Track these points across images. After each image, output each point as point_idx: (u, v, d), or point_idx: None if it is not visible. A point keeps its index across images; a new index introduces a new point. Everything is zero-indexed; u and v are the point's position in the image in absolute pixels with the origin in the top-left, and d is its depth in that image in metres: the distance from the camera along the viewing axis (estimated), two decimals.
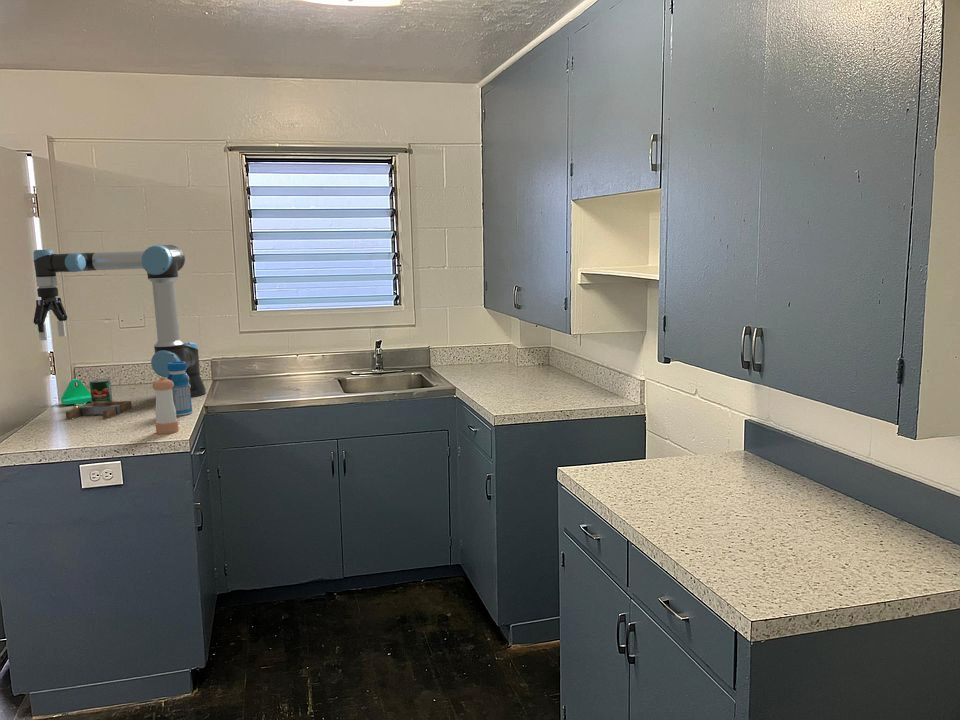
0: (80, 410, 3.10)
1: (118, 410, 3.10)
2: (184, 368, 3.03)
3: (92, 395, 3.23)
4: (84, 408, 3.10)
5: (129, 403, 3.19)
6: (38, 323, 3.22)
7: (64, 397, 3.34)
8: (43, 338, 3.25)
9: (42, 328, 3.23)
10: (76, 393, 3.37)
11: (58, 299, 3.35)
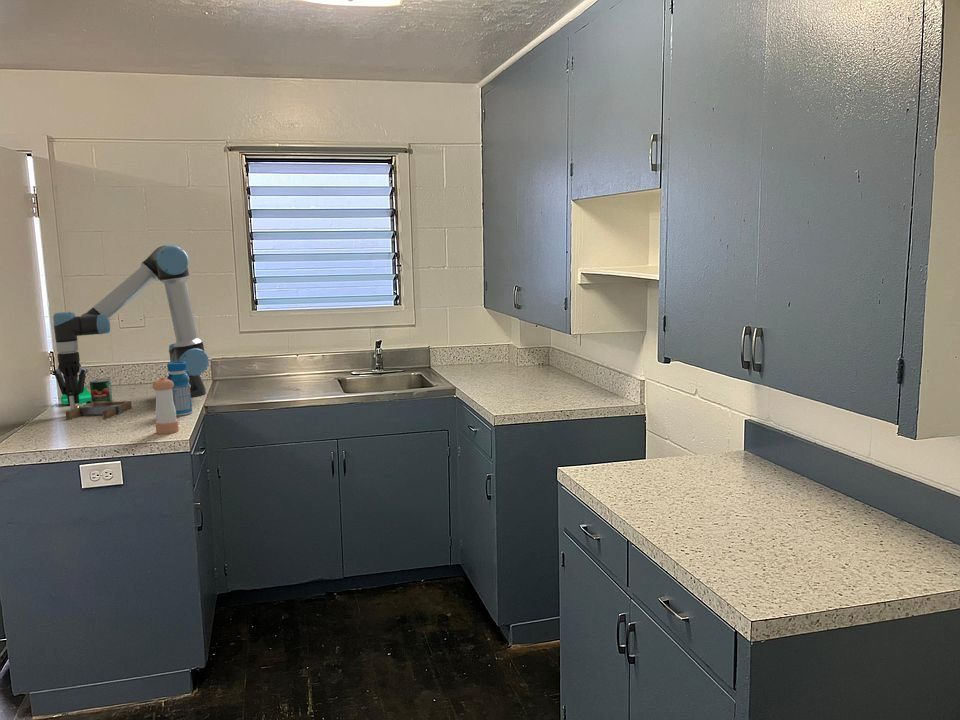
0: (81, 410, 3.10)
1: (119, 410, 3.10)
2: (184, 368, 3.03)
3: (92, 395, 3.23)
4: (85, 408, 3.10)
5: (129, 403, 3.19)
6: None
7: (64, 397, 3.35)
8: None
9: (69, 399, 3.10)
10: None
11: None
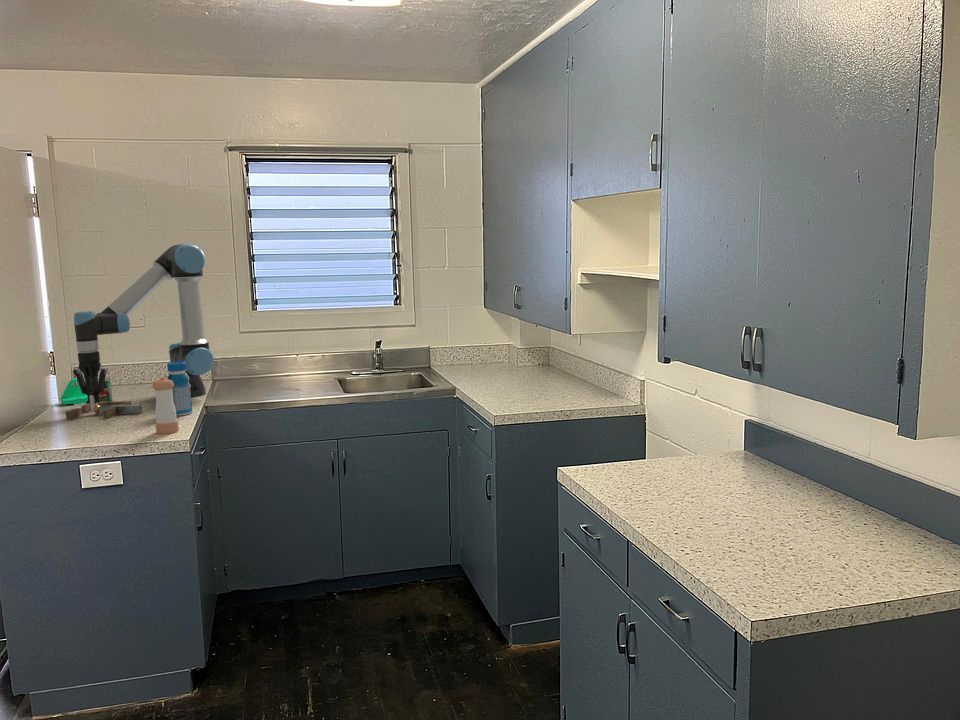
0: (101, 409, 3.10)
1: (140, 409, 3.10)
2: (184, 368, 3.03)
3: None
4: (105, 407, 3.09)
5: (129, 403, 3.19)
6: None
7: (63, 397, 3.35)
8: None
9: (89, 399, 3.10)
10: (75, 392, 3.38)
11: (102, 369, 3.08)
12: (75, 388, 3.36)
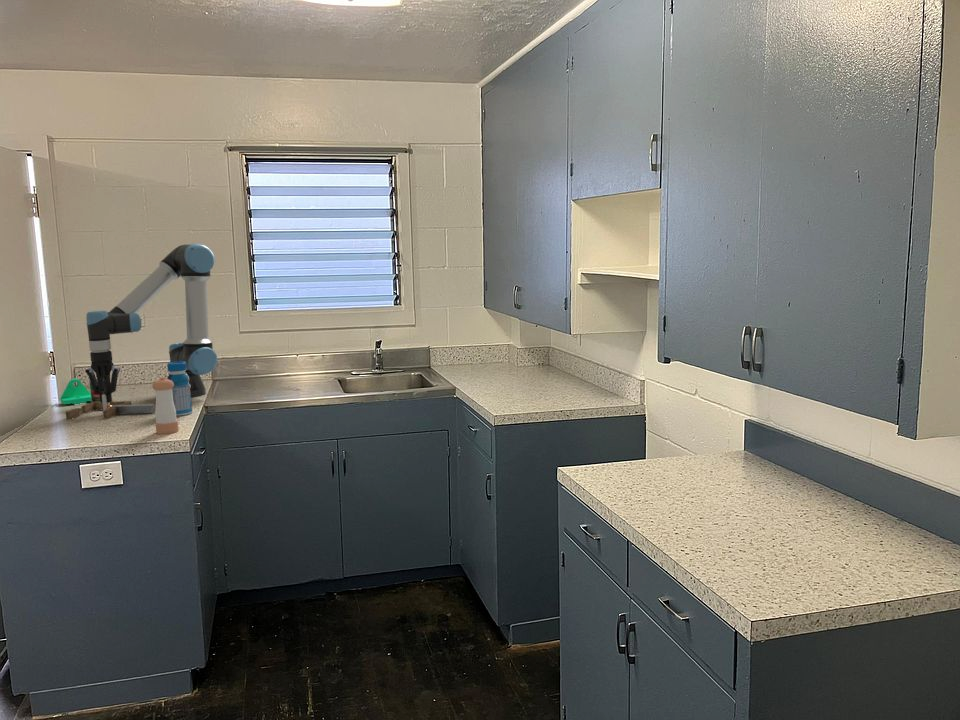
0: None
1: (152, 409, 3.10)
2: (184, 368, 3.03)
3: (92, 395, 3.23)
4: (118, 407, 3.09)
5: (129, 403, 3.19)
6: None
7: (63, 397, 3.35)
8: None
9: (101, 398, 3.10)
10: (75, 392, 3.38)
11: (114, 369, 3.08)
12: (75, 388, 3.36)
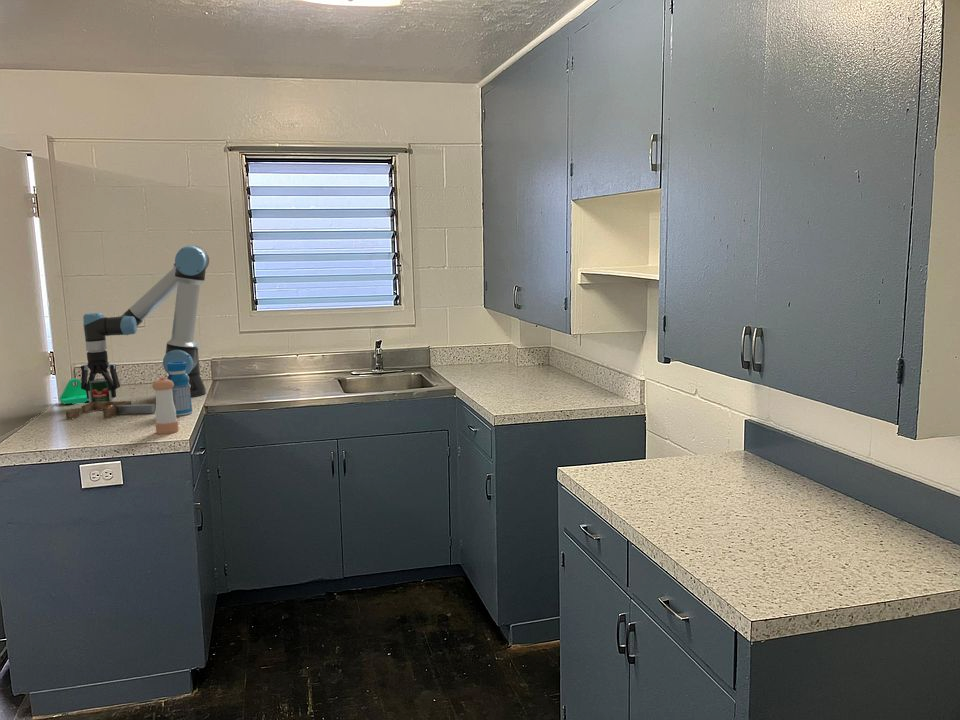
0: None
1: (153, 409, 3.10)
2: (184, 368, 3.03)
3: (92, 395, 3.23)
4: (119, 407, 3.09)
5: (129, 403, 3.19)
6: None
7: (63, 396, 3.36)
8: None
9: (88, 394, 3.26)
10: (75, 392, 3.39)
11: (110, 366, 3.24)
12: (74, 388, 3.37)
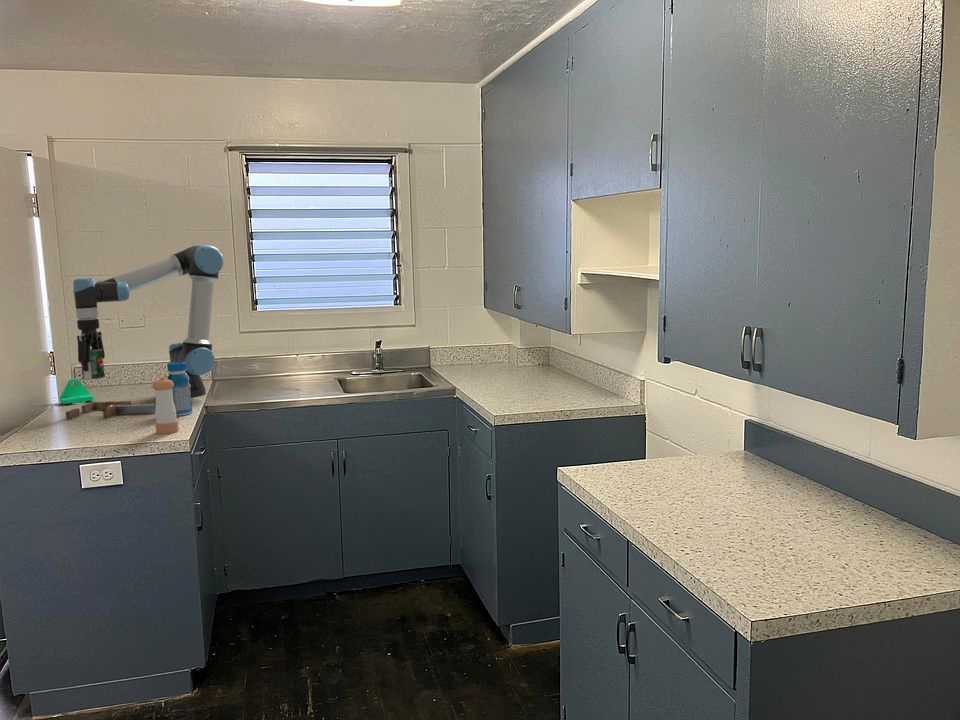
0: None
1: (153, 409, 3.10)
2: (184, 368, 3.03)
3: (98, 365, 3.06)
4: (119, 407, 3.09)
5: (129, 403, 3.19)
6: (83, 361, 3.01)
7: (63, 396, 3.36)
8: (88, 377, 3.04)
9: (87, 366, 3.03)
10: (75, 392, 3.39)
11: (98, 333, 3.12)
12: (74, 388, 3.37)
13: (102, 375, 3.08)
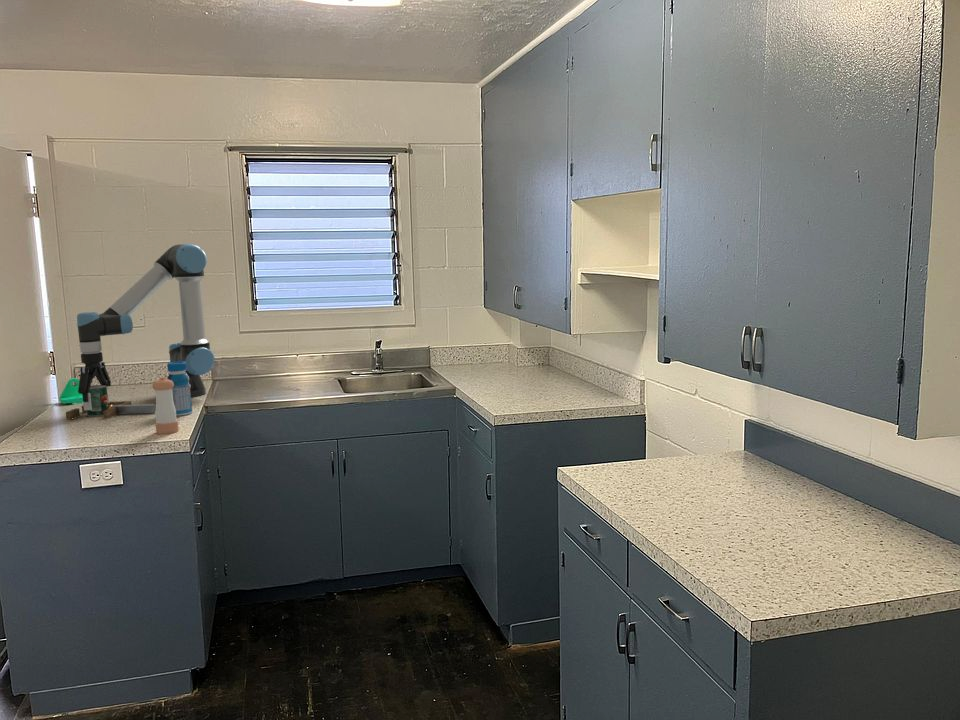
0: None
1: (153, 409, 3.10)
2: (184, 368, 3.03)
3: (102, 401, 3.09)
4: (119, 407, 3.09)
5: (129, 403, 3.19)
6: (83, 392, 3.01)
7: (62, 396, 3.37)
8: (88, 408, 3.04)
9: (87, 397, 3.03)
10: (74, 392, 3.39)
11: (102, 364, 3.14)
12: (74, 387, 3.37)
13: None
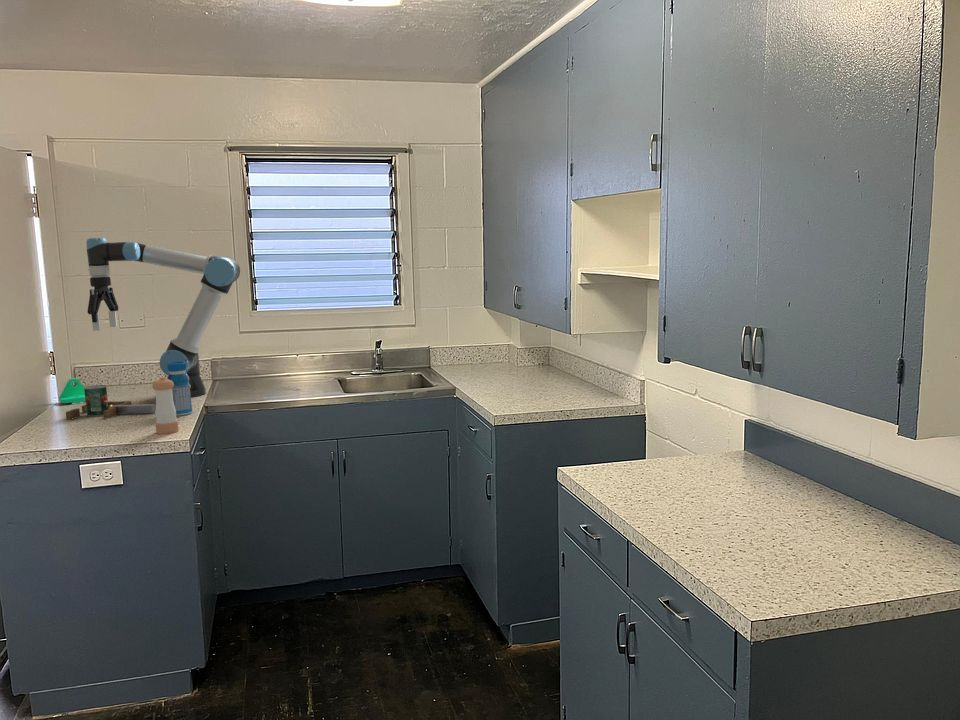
0: None
1: (153, 409, 3.10)
2: (184, 368, 3.03)
3: (102, 401, 3.09)
4: (119, 407, 3.09)
5: (129, 403, 3.19)
6: (92, 313, 3.15)
7: (62, 396, 3.37)
8: (97, 328, 3.18)
9: (96, 318, 3.17)
10: (74, 392, 3.40)
11: (110, 289, 3.29)
12: (74, 387, 3.38)
13: None
